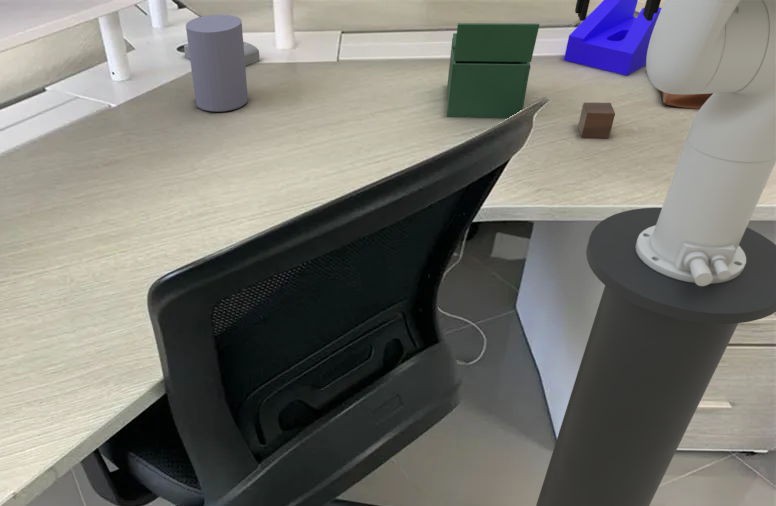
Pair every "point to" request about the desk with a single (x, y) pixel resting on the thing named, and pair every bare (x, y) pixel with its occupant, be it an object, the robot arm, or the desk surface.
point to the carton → (485, 87)
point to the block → (596, 120)
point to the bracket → (612, 38)
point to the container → (217, 62)
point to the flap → (495, 42)
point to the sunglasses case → (685, 100)
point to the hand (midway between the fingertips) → (613, 18)
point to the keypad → (249, 53)
